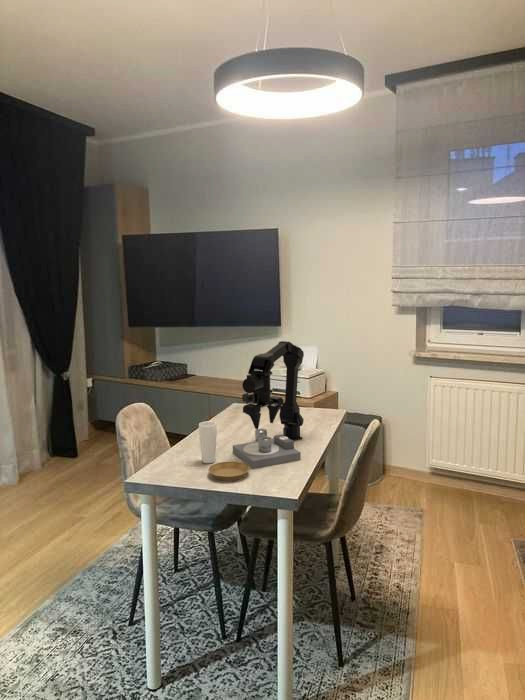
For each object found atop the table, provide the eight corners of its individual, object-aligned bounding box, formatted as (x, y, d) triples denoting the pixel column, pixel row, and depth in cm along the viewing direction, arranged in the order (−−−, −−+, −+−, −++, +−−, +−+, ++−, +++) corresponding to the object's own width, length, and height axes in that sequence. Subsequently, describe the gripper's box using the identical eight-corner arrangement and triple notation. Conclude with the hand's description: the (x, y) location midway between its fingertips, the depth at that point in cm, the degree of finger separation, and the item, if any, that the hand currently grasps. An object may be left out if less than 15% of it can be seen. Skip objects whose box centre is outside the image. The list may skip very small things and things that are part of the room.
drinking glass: (214, 465, 199) (213, 426, 197) (197, 464, 200) (196, 425, 198) (219, 458, 206) (218, 421, 203) (203, 457, 207) (201, 420, 205)
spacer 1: (263, 439, 229) (263, 427, 228) (269, 442, 224) (268, 430, 224) (253, 440, 227) (253, 429, 226) (258, 444, 222) (258, 432, 221)
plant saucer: (230, 464, 200) (230, 458, 199) (258, 474, 190) (258, 467, 189) (200, 475, 189) (199, 469, 189) (227, 487, 179) (227, 479, 179)
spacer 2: (273, 451, 202) (273, 439, 201) (261, 453, 200) (261, 441, 199) (267, 447, 207) (267, 435, 206) (256, 450, 205) (256, 437, 204)
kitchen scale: (276, 444, 221) (276, 430, 220) (300, 459, 203) (300, 443, 202) (232, 452, 212) (232, 437, 212) (253, 468, 195) (253, 452, 194)
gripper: (262, 380, 218) (263, 416, 221) (231, 389, 204) (233, 428, 206) (283, 383, 211) (284, 421, 213) (253, 393, 197) (254, 433, 199)
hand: (264, 426), depth 208 cm, fingers open, 9 cm apart
